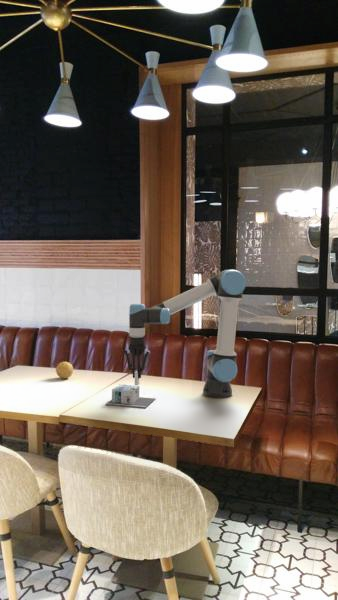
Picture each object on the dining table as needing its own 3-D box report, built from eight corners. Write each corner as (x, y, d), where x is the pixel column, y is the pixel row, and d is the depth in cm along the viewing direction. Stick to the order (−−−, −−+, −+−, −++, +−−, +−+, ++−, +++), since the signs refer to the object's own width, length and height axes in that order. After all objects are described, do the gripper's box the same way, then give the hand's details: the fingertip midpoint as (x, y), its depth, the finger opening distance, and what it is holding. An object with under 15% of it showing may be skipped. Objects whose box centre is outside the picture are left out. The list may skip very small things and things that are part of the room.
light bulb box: (133, 390, 225) (111, 389, 227) (132, 404, 226) (111, 402, 228) (139, 385, 235) (119, 383, 238) (139, 398, 236) (118, 396, 238)
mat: (155, 399, 237) (155, 398, 237) (145, 408, 221) (145, 407, 221) (117, 396, 242) (117, 395, 242) (105, 405, 226) (105, 403, 226)
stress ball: (67, 377, 286) (54, 367, 284) (77, 366, 285) (64, 355, 283) (64, 384, 276) (51, 374, 275) (75, 372, 275) (61, 361, 273)
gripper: (152, 335, 231) (152, 383, 232) (127, 334, 234) (126, 381, 235) (147, 337, 223) (147, 387, 225) (121, 336, 227) (121, 385, 228)
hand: (137, 384), depth 230 cm, fingers closed
